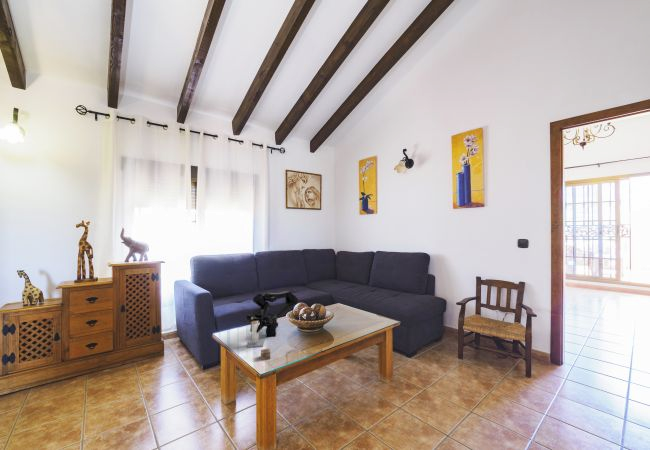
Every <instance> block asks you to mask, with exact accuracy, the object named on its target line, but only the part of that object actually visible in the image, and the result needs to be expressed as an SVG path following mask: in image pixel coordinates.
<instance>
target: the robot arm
mask: <svg viewBox="0 0 650 450" xmlns="http://www.w3.org/2000/svg"><path fill="white" fill-rule="evenodd" d="M283 298H284V299H285V300H284V303H283V304H282V305H281V306H279V307H278V308H277V309H276V310H275V311H274V312H272V313H271V312H269V313H267V312H268V310H269V308H272V303H274V302H275V301H277V300H279V299H283ZM252 302H253V303H254V304H255V305H257V307H259V308H257V309H255V308H254V309H252V311H251V314H246V315H245V317H244V319H246V321H248V322H249V323H251V321H253V320H258V321H259V323H258V329H257V331H256V332H257V333H258V332H259V333H260V331H261V330H262V329H263V328H264V327H266V328H265V335H266V338H273V337H276V336H277V327H279V322H277V321H278V319H279V317H281V316H282V315H283V314H284V313H286V311H287V310H289V308H291V307H294V306H296V305H297V304H298V302H299V299H298V297H297V296H296V295H294V294H293V293H292V292H291V291H290V290H285V291H280V292H276V293H273V292H266V293H265V294H264V295H262V294H261V293H258V294H257V295H255V296H254V297H253V298H252ZM249 332H250V333H252V325H251V324H250V329H249Z"/></svg>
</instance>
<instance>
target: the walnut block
mask: <svg viewBox="0 0 650 450" xmlns="http://www.w3.org/2000/svg"><path fill="white" fill-rule="evenodd" d="M260 359H261V361H266V360H271V349H270V348H264V349H260Z"/></svg>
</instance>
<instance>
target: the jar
mask: <svg viewBox="0 0 650 450" xmlns="http://www.w3.org/2000/svg"><path fill="white" fill-rule="evenodd" d="M259 324H260V321H258V320H253V321H251V322H250V326H251V325H252V332H251V340H252V342H253V343H256V342H258V341H259V340H260V337H259V336H260V335H259V333H260V331H259V332H258V333H257V332H256V331H257V329H258V326H259Z"/></svg>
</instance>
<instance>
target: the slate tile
mask: <svg viewBox="0 0 650 450" xmlns="http://www.w3.org/2000/svg"><path fill="white" fill-rule="evenodd" d="M265 342H266V339H265V338H264V339H263V338H261V339H260V338H259V341H258V342H256V343H253V342H252V339H250V340H249V341H248V343H247V345H246V348H262V347H264V345H265Z"/></svg>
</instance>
